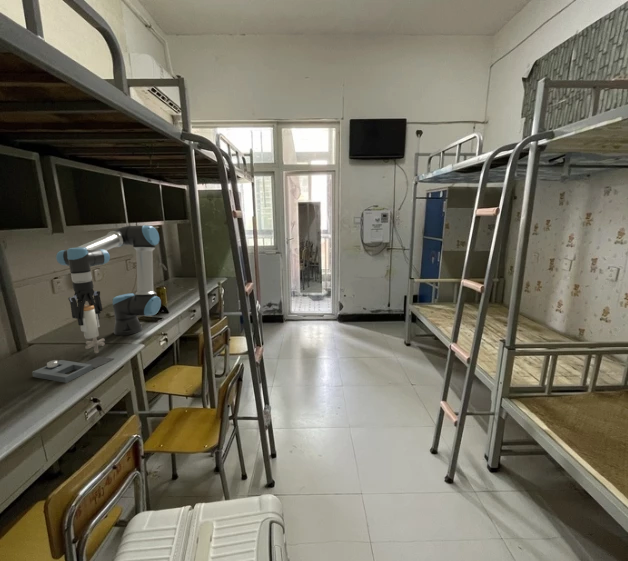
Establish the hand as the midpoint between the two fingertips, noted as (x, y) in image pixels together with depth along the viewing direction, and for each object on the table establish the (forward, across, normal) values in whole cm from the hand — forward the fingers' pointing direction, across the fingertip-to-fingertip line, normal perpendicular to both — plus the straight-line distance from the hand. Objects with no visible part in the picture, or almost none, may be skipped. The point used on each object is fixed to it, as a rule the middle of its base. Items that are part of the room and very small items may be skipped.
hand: (90, 328), depth 148 cm
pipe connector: (+18, -9, -11) cm, 23 cm away
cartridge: (+4, 0, 0) cm, 4 cm away
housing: (+17, +12, -5) cm, 22 cm away
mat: (+17, 0, 0) cm, 17 cm away
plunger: (+16, +12, -11) cm, 23 cm away
